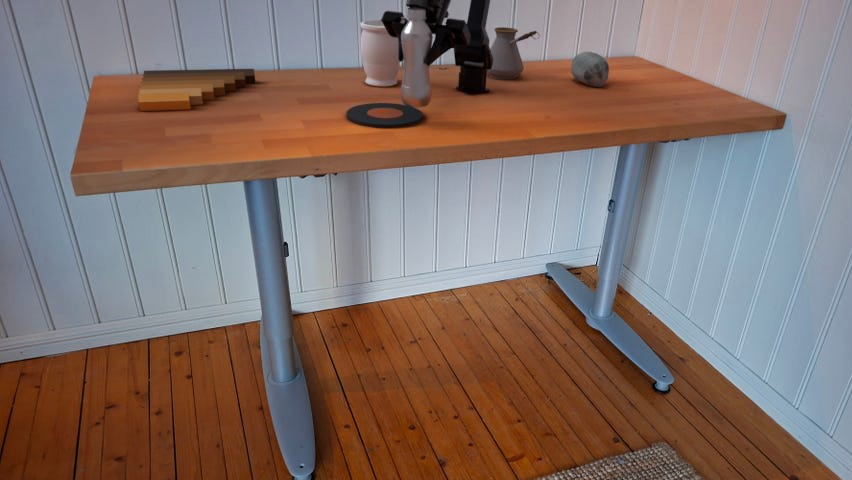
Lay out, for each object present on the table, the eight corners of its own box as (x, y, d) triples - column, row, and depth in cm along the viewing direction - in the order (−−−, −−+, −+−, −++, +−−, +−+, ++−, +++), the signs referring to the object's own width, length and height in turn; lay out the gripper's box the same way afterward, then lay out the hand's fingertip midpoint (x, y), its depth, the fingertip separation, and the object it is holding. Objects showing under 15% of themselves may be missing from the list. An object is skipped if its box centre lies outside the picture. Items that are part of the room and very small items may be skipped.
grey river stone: (620, 77, 186) (606, 43, 183) (589, 93, 186) (575, 59, 183) (603, 78, 199) (590, 46, 196) (575, 93, 199) (561, 61, 196)
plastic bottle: (405, 101, 151) (405, 5, 141) (434, 104, 150) (436, 8, 140) (396, 108, 145) (395, 9, 135) (427, 112, 144) (428, 12, 134)
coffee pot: (475, 72, 195) (478, 18, 188) (509, 70, 200) (514, 17, 193) (512, 91, 179) (517, 32, 172) (549, 88, 184) (555, 30, 177)
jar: (394, 90, 173) (394, 28, 166) (355, 85, 175) (353, 24, 167) (406, 80, 182) (406, 22, 175) (369, 76, 184) (368, 18, 177)
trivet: (398, 103, 163) (398, 99, 162) (437, 122, 151) (437, 118, 150) (333, 111, 153) (333, 107, 153) (369, 132, 142) (369, 127, 141)
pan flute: (254, 80, 173) (146, 83, 165) (253, 67, 171) (144, 68, 163) (262, 107, 153) (140, 111, 144) (261, 92, 151) (137, 96, 143)
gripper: (384, -31, 141) (359, 32, 137) (468, -22, 135) (444, 44, 131) (402, 5, 151) (378, 65, 147) (480, 14, 145) (458, 77, 142)
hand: (413, 62), depth 142 cm, fingers closed on plastic bottle, 6 cm apart
